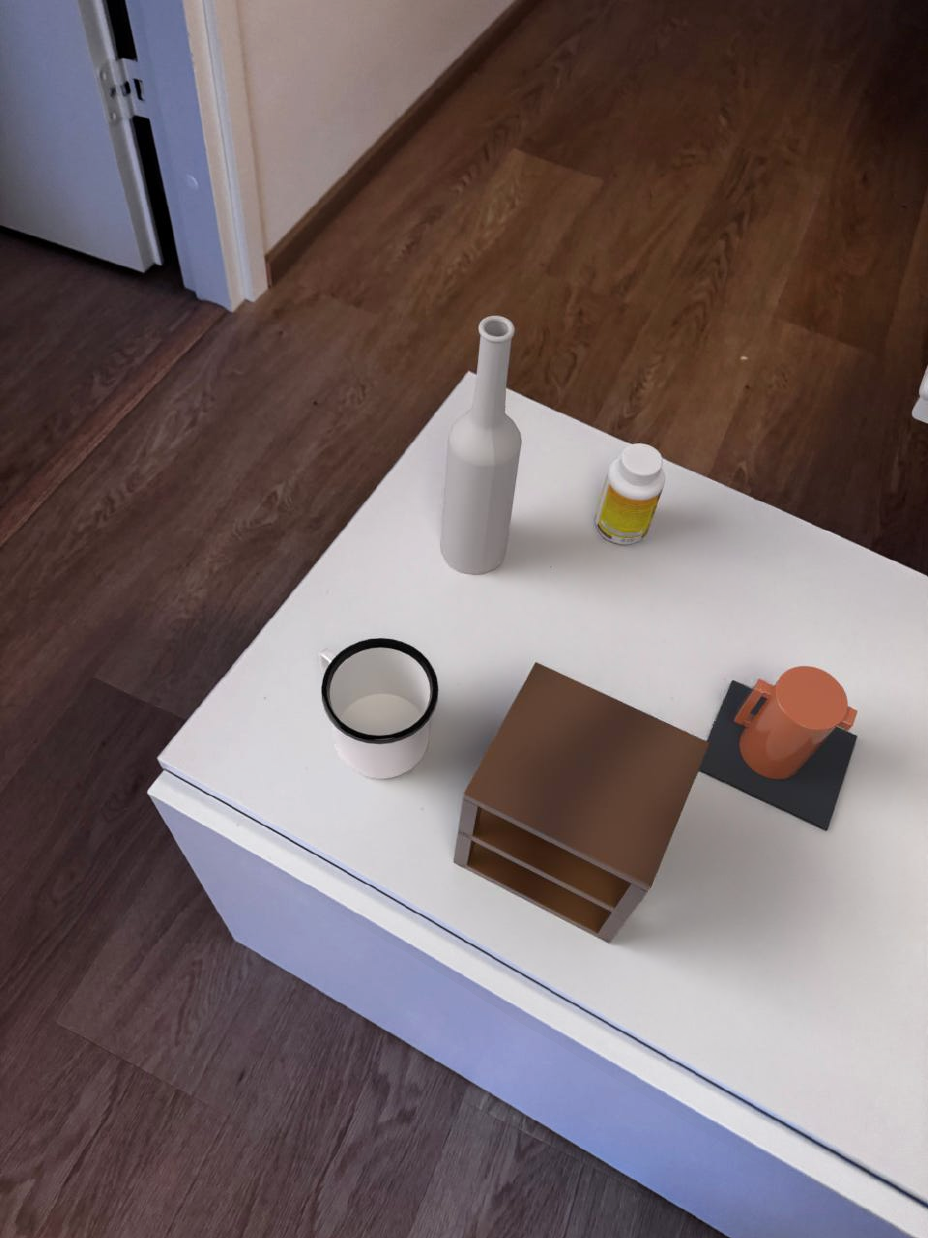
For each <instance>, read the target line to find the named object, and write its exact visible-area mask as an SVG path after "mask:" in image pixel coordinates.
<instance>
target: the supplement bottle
mask: <svg viewBox="0 0 928 1238" xmlns="http://www.w3.org/2000/svg"><path fill="white" fill-rule="evenodd" d="M663 464H664V460H663V456H662V454H661V452H660V451H658V449H657V448H655V447H654V446H651V445H650V444H646V443H641V442H640V443H632V444H630V445H628V446H626V447H625V448H624V449H623V451H622V452H621V455H619V456H618V457H616V458H615V459H614V460H612V462H611V463H610V465H609V467H608V469H607V473H606V476H605V479H604V484H603V488H602V491H601V494H600V497H599V501H598V505H597V509H596V513H595V518H594V520H595V526H596V530H597V531H598V533H599V534H600V535H601V536H602V537H603V538H605V539H606V540H607V541H608V542H611V543H613V544H617V545H623V546H624V545H628V546H629V545H632V544H636V543H638V542H640V541H641V540H642V539H644V538H645V537H646V535H647V533H648V532H649V529H650V526H651V524H652V521H653V518H654V515H655V513H656V510H657V507H658V504H659V501H660V498H661V497H662V493H663V490H664V487H665V484H666V474H665V471H664V469H663Z"/></svg>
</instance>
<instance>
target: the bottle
mask: <svg viewBox="0 0 928 1238" xmlns="http://www.w3.org/2000/svg"><path fill="white" fill-rule="evenodd" d="M515 331H516V329H515V325H514V324H513V322H512V321H511V320H510V319H509V318H506V317H504V316H501V315H490V316H487V317H485V318H483V319H482V320H481V321H480V322H479V325H478V333H479V335H480V337H479V338H480V339H479V347H478V349H479V350H478V357H477V358H478V359H477V366H476V367H477V368H476V377H475V378H476V379H475V386H474V391H473V396H472V401H471V408H470V409H468V410H467V411H466V412H464V413H462V414H460V415H459V416H458V417H457V419H456V420H455V421H453V423H452V424H451V426H450V429H449V431H448V434H447V447H446V461H445V473H444V484H443V485H444V487H443V498H442V499H443V501H442V513H441V526H440V541H439V542H440V543H439V546H440V553H441V556H442V558H443V560H444V561H445V562H446V564H448V566H450V568H452V569H454V570H455V571H457V572H460V573H463V574H467V575H483V574H486V573H489V572H492V571H493V570H495V569H496V568H498V567H499V566H500V565H501V563H502V562H503V561H504V559H505V555H506V552H507V546H508V539H509V533H510V527H511V521H512V514H513V506H514V500H515V499H514V498H515V492H516V487H517V479H518V472H519V464H520V456H521V451H522V450H521V449H522V443H523V441H522V433H521V431H520V429H519V427H518V425H517V424H516V422H515V421H514V419H513V418H512V417H511V416H509V415H508V414H507V413H506V401H507V400H506V399H507V382H508V372H509V366H510V365H509V363H510V356H511V355H510V354H511V349H512V348H511V347H512V339H513V337H514V335H515Z"/></svg>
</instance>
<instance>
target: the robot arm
mask: <svg viewBox="0 0 928 1238" xmlns="http://www.w3.org/2000/svg"><path fill="white" fill-rule="evenodd" d="M911 416H912V418H914V419H915V420H917V421H920V422H923V423H925V424H928V365H927V366H926V369H925V371H924V375H923V378H922V380H921V383H920V386H919V390H918V396H917V398H916V400H915V403H914V405H913V408H912V411H911Z"/></svg>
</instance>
